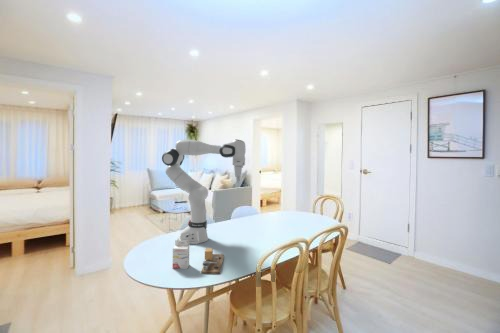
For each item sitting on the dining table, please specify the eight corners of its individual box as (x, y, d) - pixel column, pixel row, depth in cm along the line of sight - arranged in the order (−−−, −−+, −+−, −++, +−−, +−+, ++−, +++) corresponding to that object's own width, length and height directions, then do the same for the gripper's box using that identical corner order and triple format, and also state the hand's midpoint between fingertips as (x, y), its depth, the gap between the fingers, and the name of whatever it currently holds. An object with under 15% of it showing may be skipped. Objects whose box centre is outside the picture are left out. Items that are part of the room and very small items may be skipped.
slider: (204, 262, 143) (204, 251, 143) (205, 259, 147) (206, 248, 146) (218, 262, 143) (218, 251, 142) (218, 259, 147) (219, 248, 146)
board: (201, 273, 134) (201, 265, 133) (208, 255, 156) (208, 249, 155) (219, 273, 134) (219, 266, 133) (224, 256, 156) (224, 249, 155)
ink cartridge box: (172, 268, 138) (172, 243, 137) (174, 264, 143) (174, 239, 142) (187, 268, 138) (187, 243, 137) (189, 264, 143) (189, 240, 142)
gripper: (235, 161, 184) (234, 180, 185) (233, 163, 164) (232, 184, 165) (243, 162, 184) (242, 180, 185) (242, 163, 164) (242, 184, 165)
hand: (238, 182), depth 175 cm, fingers open, 8 cm apart
